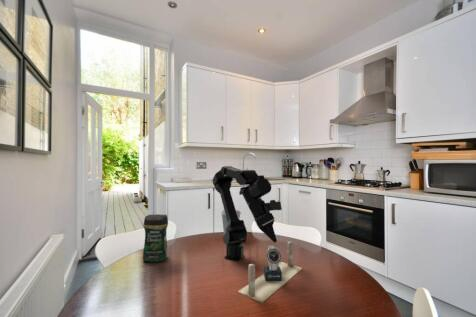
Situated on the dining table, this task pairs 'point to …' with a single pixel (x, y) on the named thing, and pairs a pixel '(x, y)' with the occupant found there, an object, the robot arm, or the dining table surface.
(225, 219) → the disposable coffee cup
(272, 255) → the watch
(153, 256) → the coffee jar
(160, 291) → the dining table surface
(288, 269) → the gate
